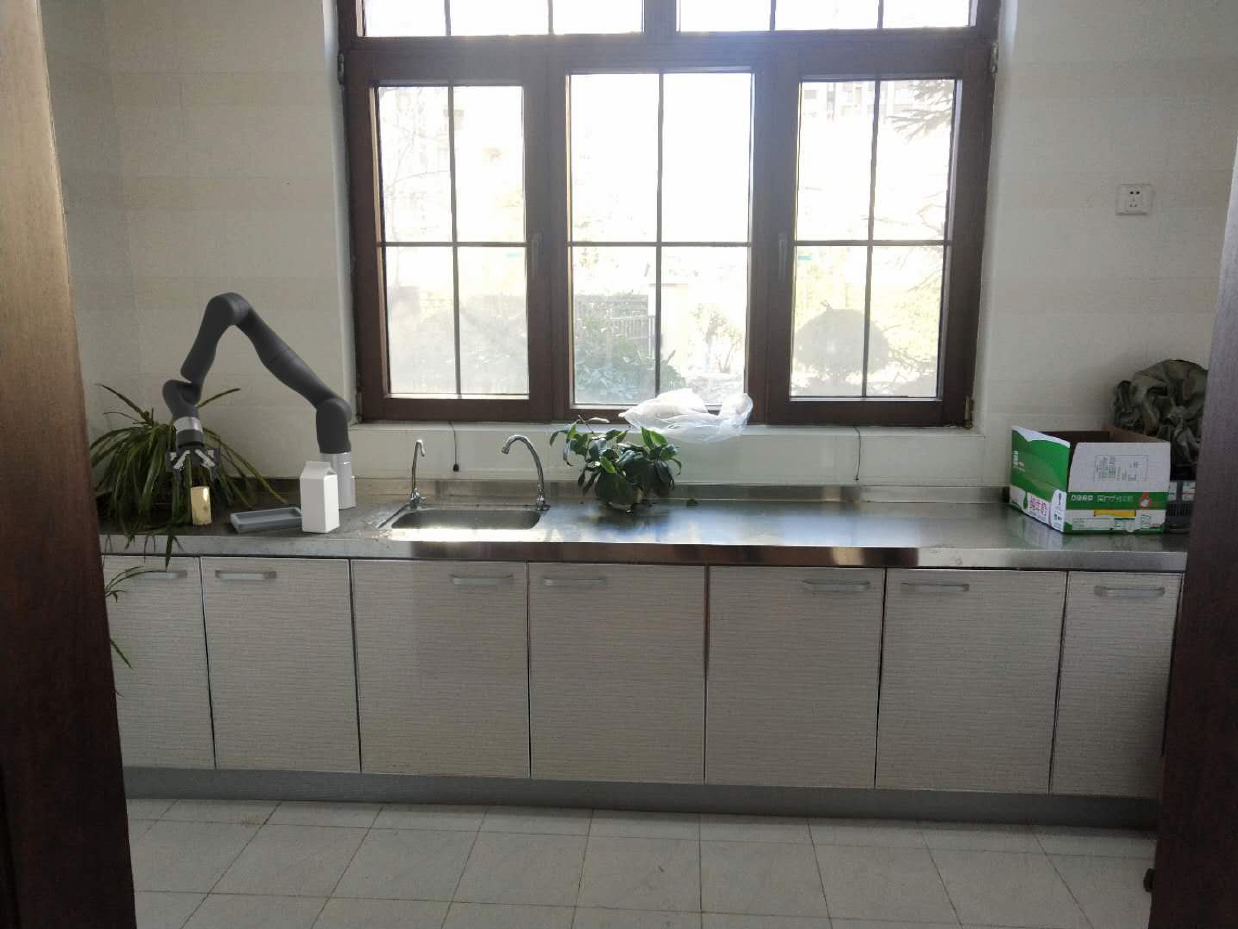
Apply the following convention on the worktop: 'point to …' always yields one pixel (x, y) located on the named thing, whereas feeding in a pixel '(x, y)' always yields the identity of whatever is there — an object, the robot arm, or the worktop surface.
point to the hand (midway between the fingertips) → (196, 480)
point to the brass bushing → (200, 505)
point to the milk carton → (319, 497)
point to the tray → (267, 519)
